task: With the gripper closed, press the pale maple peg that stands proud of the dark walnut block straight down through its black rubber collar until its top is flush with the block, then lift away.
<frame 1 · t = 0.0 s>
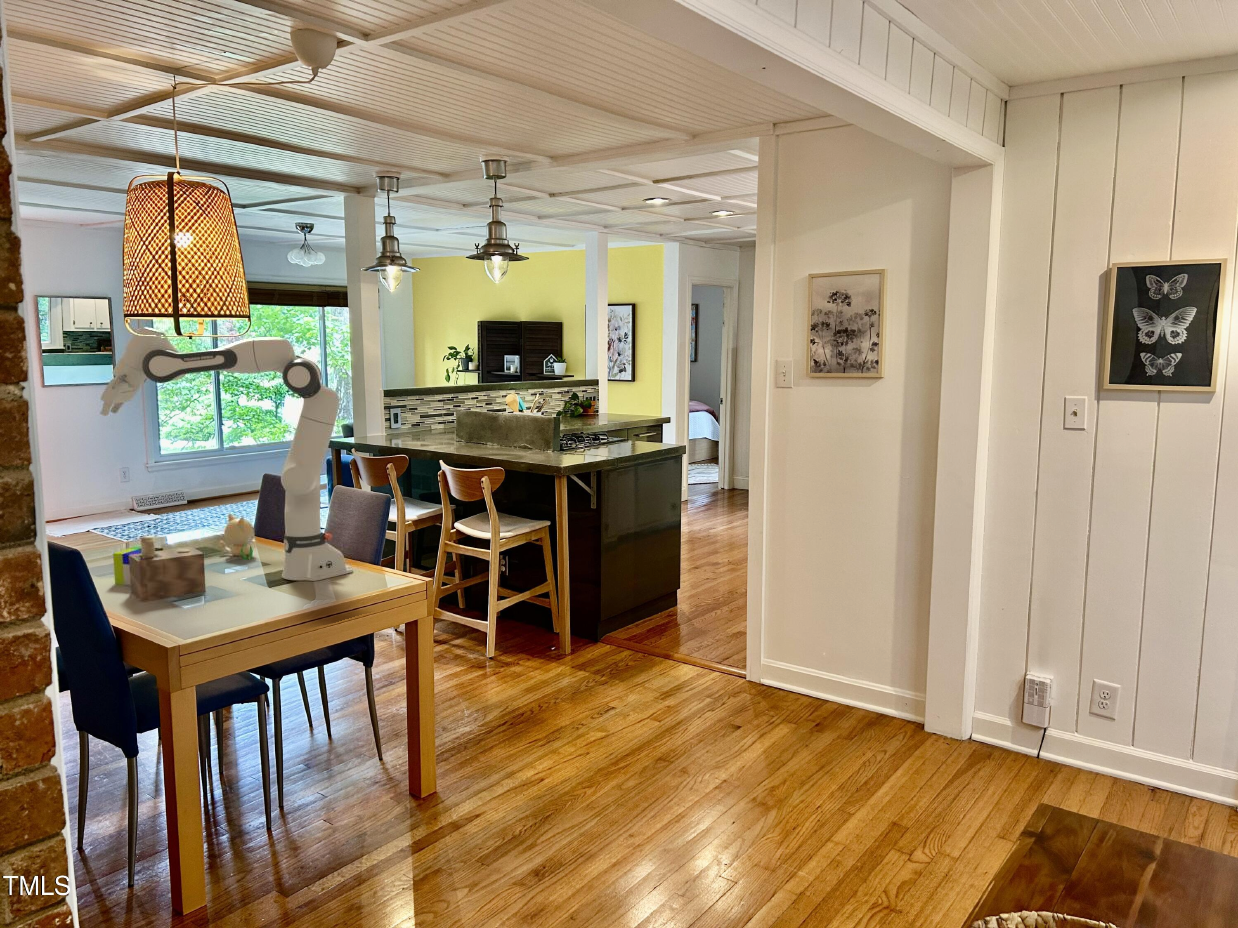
hand: (108, 413, 272), 54 cm above the table, tool tilted 30°, fingers open, 8 cm apart
puzzle toy: (140, 581, 283), on the table
peg: (148, 555, 266), point 12 cm above the table, slide at 0.0 cm
walnut block: (168, 592, 271), on the table
kitten: (241, 555, 319), on the table
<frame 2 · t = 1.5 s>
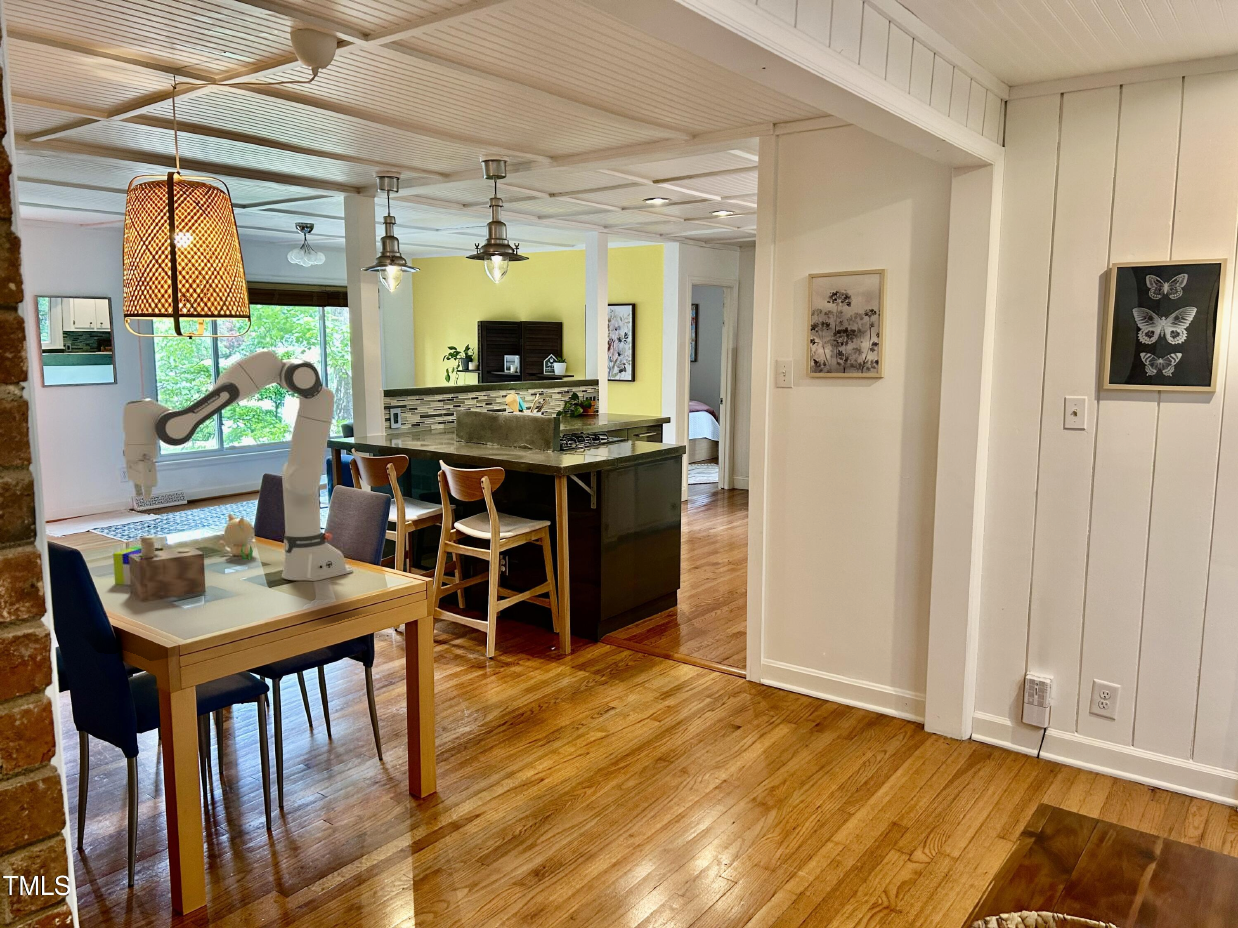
hand: (143, 498, 264), 30 cm above the table, tool pointing down, fingers open, 8 cm apart
nothing on the table moved.
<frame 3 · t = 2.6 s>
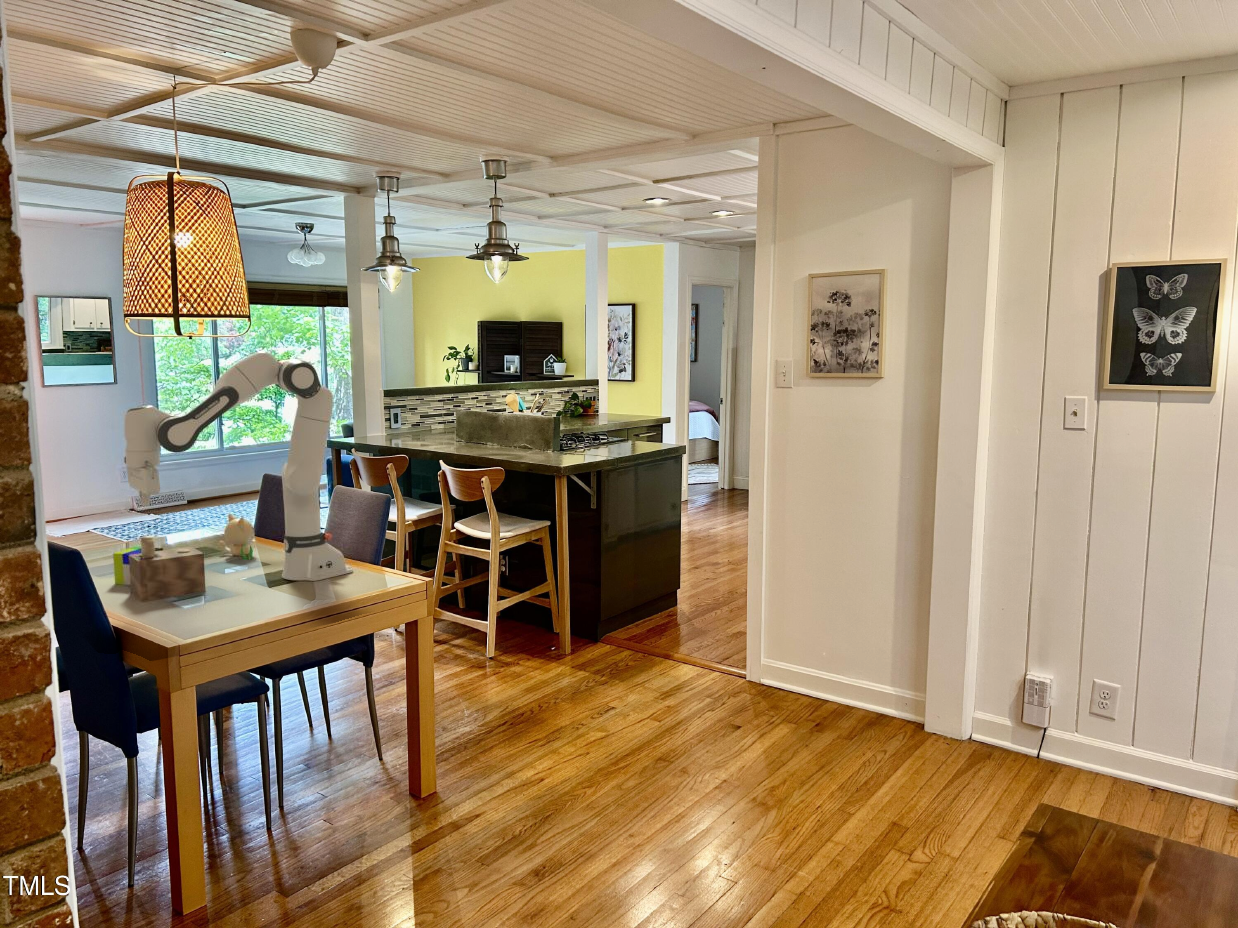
hand: (145, 505, 264), 28 cm above the table, tool pointing down, fingers closed
nothing on the table moved.
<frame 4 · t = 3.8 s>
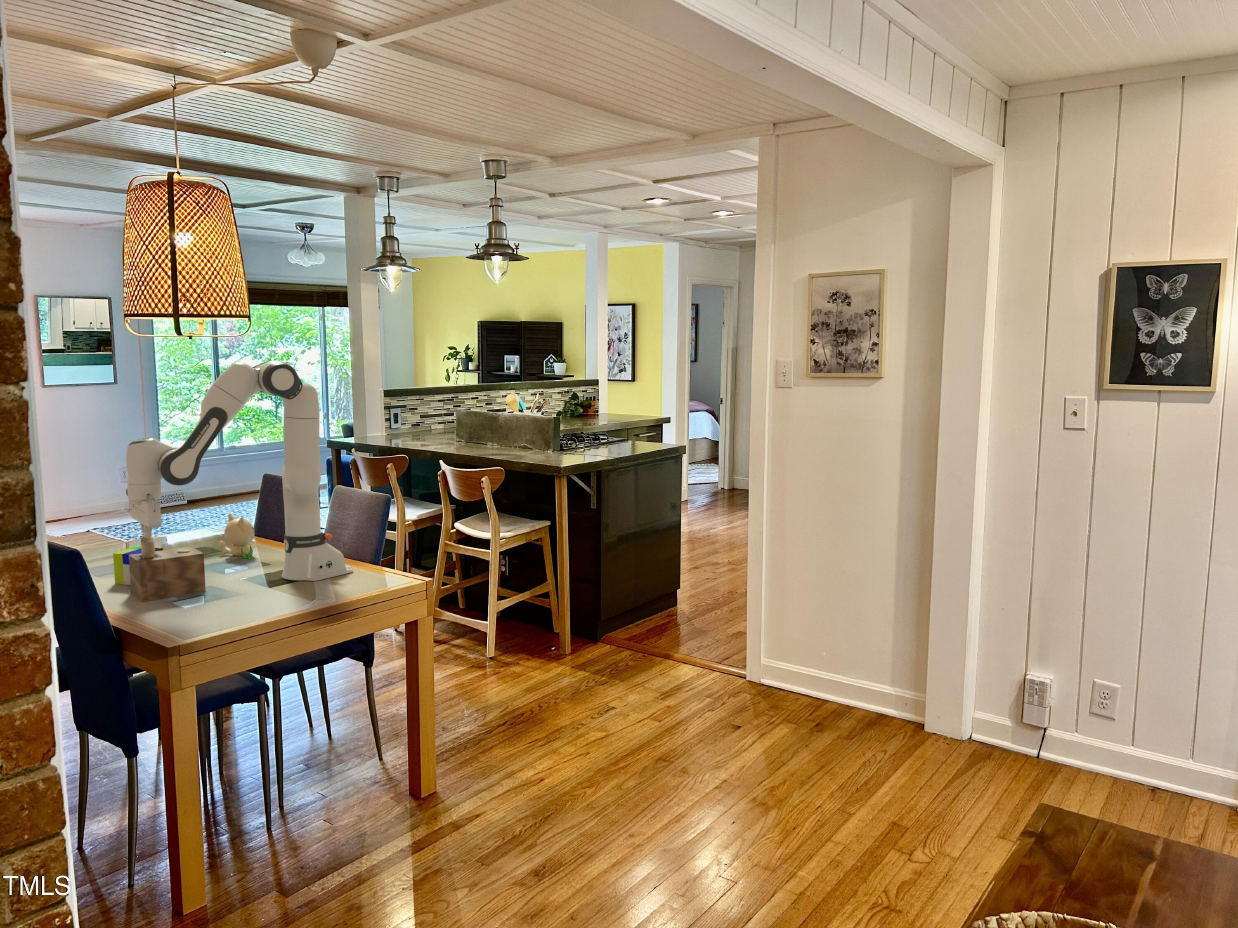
hand: (147, 537, 265), 18 cm above the table, tool pointing down, fingers closed, pressing on peg
peg: (148, 556, 266), point 12 cm above the table, slide at 0.1 cm, touching gripper
everything else where it was.
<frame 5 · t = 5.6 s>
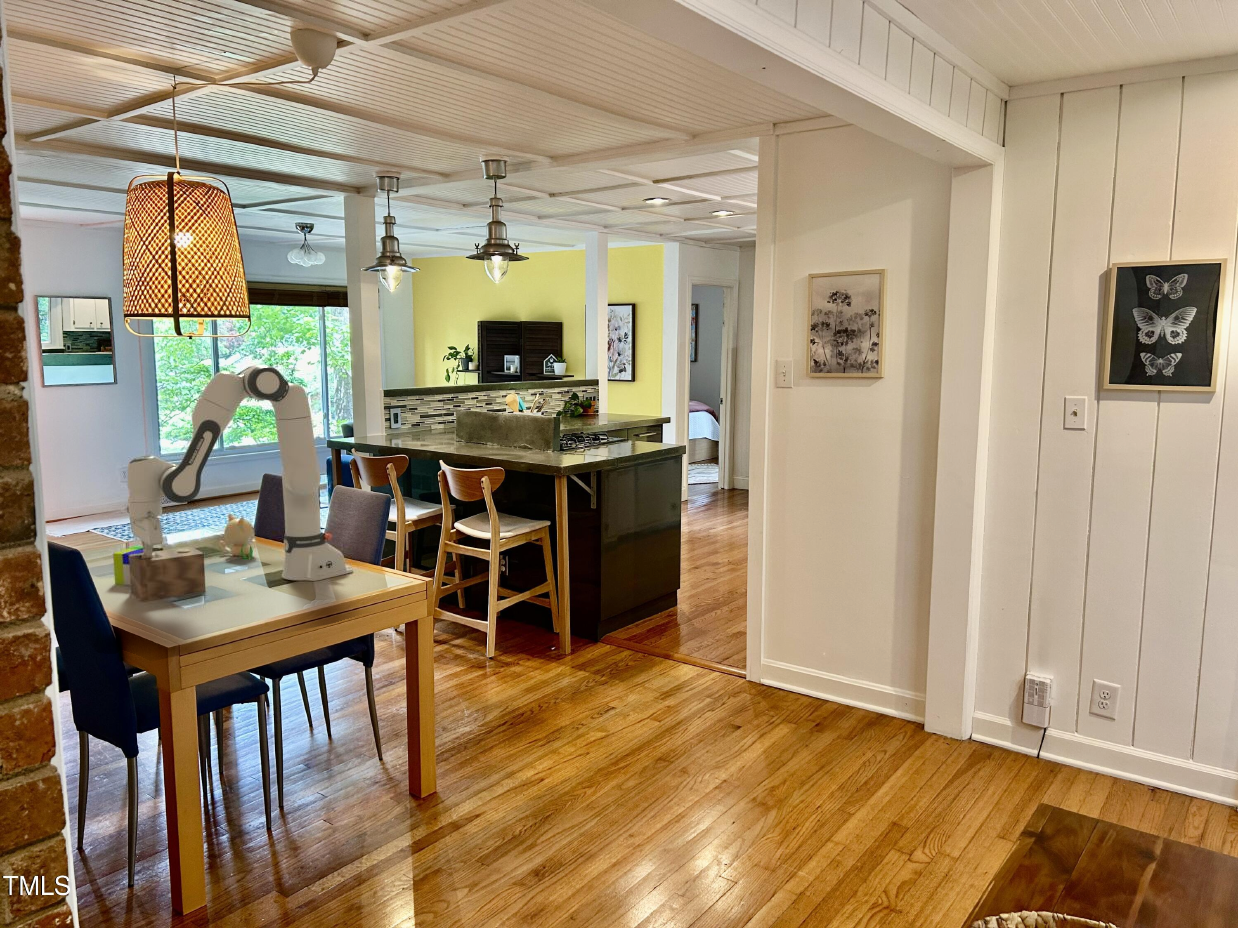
hand: (148, 554, 266), 13 cm above the table, tool pointing down, fingers closed, pressing on peg
peg: (149, 573, 266), point 7 cm above the table, slide at 5.4 cm, touching gripper
everything else where it was.
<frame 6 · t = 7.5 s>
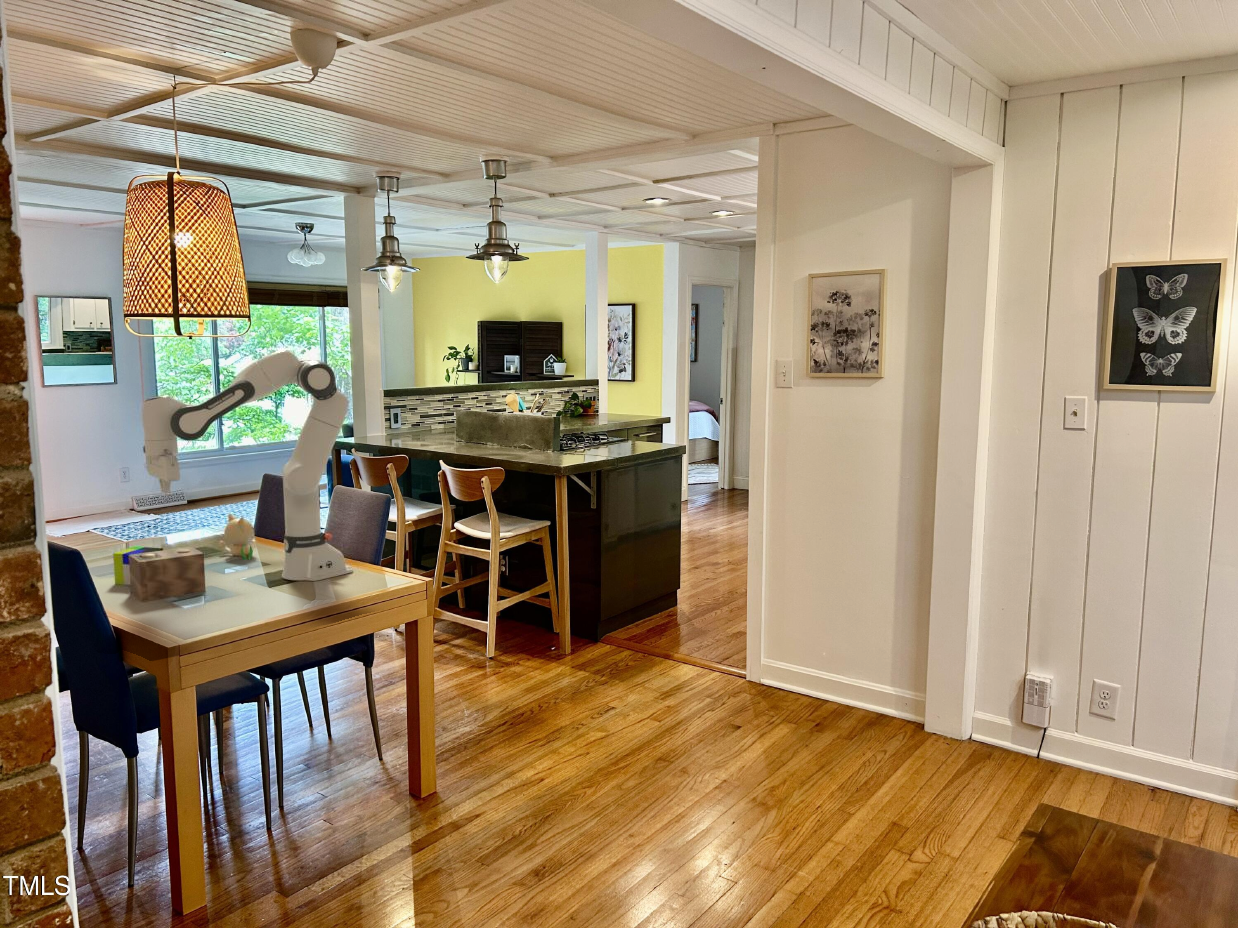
hand: (165, 492, 271), 30 cm above the table, tool pointing down, fingers closed
peg: (149, 573, 266), point 7 cm above the table, slide at 5.6 cm
everything else where it was.
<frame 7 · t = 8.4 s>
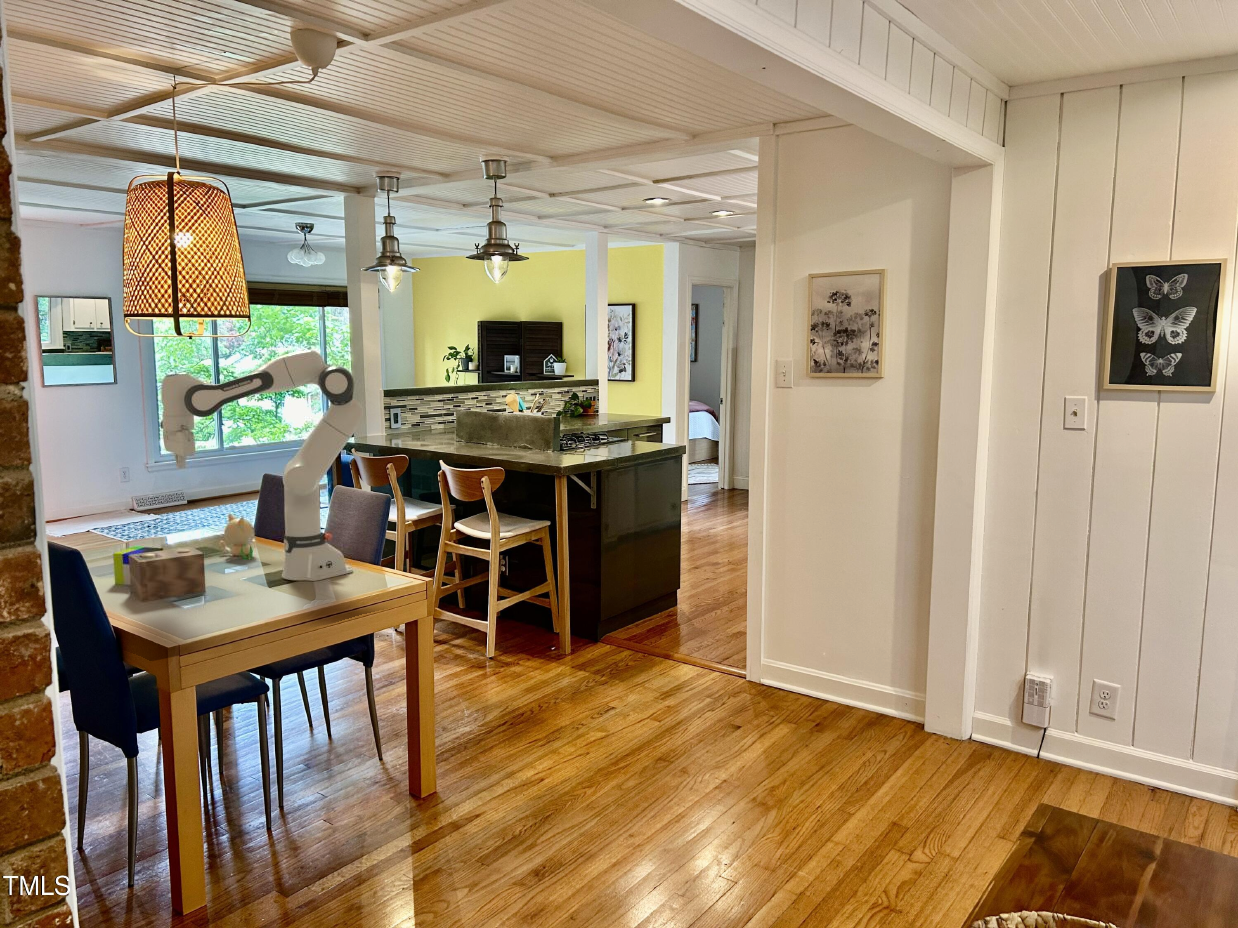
hand: (180, 467, 278), 37 cm above the table, tool pointing down, fingers closed
nothing on the table moved.
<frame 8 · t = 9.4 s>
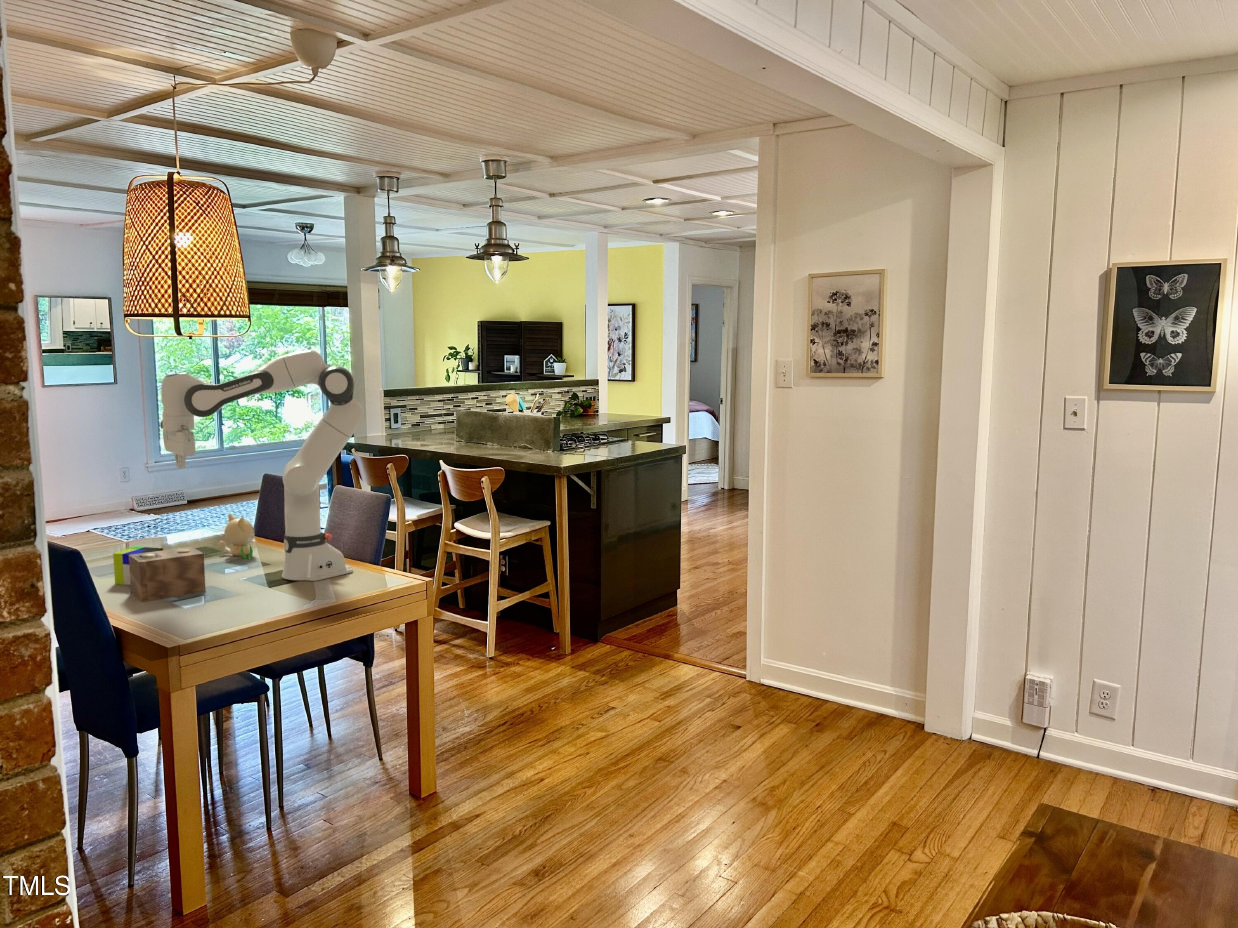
hand: (180, 467, 278), 37 cm above the table, tool pointing down, fingers closed
nothing on the table moved.
at the end: peg slide at 5.6 cm; the gripper is holding nothing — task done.
